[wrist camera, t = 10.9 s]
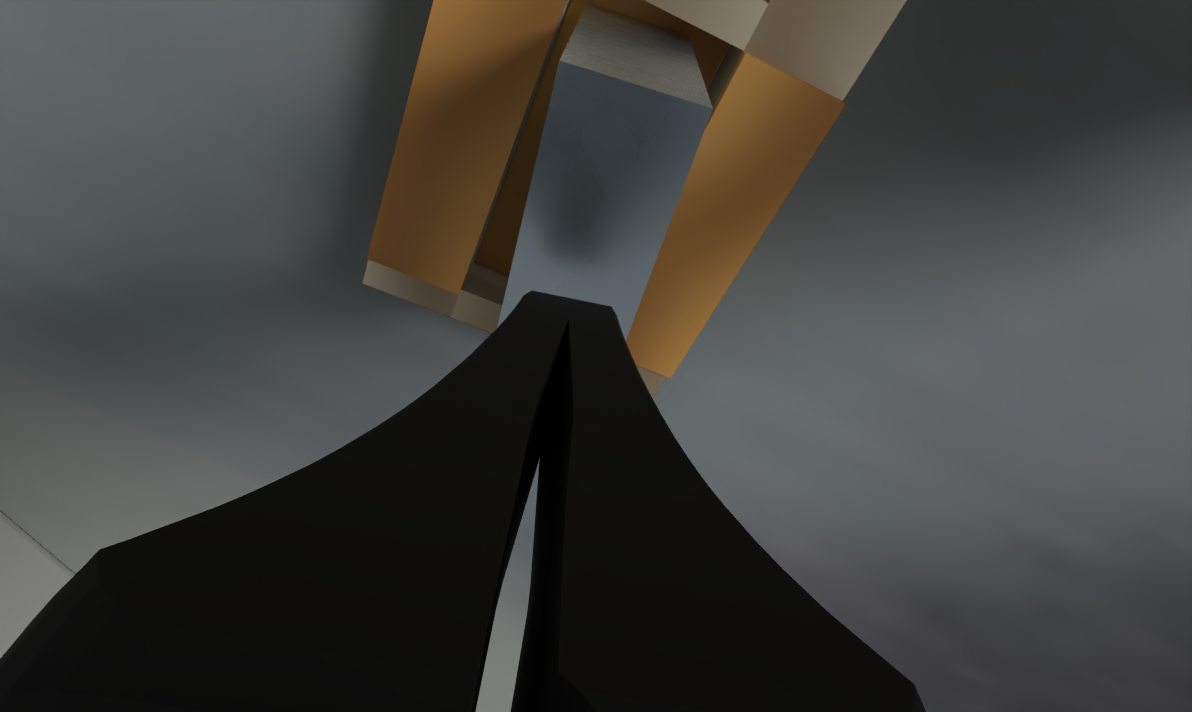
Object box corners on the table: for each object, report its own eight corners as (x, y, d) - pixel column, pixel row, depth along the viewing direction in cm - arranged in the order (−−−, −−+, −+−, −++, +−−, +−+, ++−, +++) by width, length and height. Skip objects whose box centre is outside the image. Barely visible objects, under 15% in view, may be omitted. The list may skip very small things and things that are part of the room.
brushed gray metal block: (688, 35, 16) (712, 107, 10) (606, 283, 20) (593, 427, 14) (587, 2, 16) (559, 60, 10) (523, 260, 19) (480, 399, 14)
